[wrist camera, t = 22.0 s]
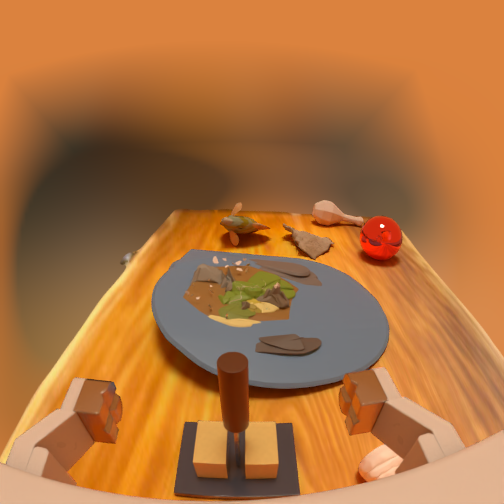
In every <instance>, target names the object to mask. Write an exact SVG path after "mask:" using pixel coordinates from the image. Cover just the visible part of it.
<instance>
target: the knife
mask: <svg viewBox="0 0 504 504" xmlns="http://www.w3.org/2000/svg"><path fill="white" fill-rule="evenodd" d="M217 372H218V382H219V391H220V401H221V410H222V419H223V426H224V428H225V429H226V430H227V431H229V432H232V433H234V443H235V455H236V467H240V436H239V433H240V432H243V431H245V430H246V429H247V428H248V426H249V366H248V359H247V357H246V356H245V355H244V354H242V353H239V352H227V353H224V354H222V355H221V356H220V357H219V358H218V359H217Z"/></svg>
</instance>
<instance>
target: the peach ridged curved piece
mask: <svg viewBox="0 0 504 504" xmlns="http://www.w3.org/2000/svg"><path fill="white" fill-rule="evenodd" d="M402 461H403V459H402V458H401V457H400V456H398V455H397V454H396V453H395V452H394V451H392V450H391V449H390V448H389V447H387V446H386V445H385V444H384V445H382V446H380V447H378V448H376V449H374V450H373V451H371V452H370V453H369V454H368V455H366V456H365V457H364V458H363V460H362V461H361V462H360V464H359V468H358V471H359V473H360V475H361V476H362V477H363V478H364V480H366V481H368V482H370V481H374V480H377V479H381V478H385V477H388V476H391V475H395V471H396V469H397V468H398V466H399V465H400V463H401V462H402Z"/></svg>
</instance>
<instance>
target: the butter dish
mask: <svg viewBox="0 0 504 504" xmlns="http://www.w3.org/2000/svg"><path fill="white" fill-rule="evenodd" d="M239 436H240V467H236V455H235V443H234V433H232V432H229V431H227V430H226V429H225V428H224V426H223V422H220V421H198V423H197V422H185V424H184V430H183V436H182V442H181V448H180V455H179V461H178V468H177V474H176V481H175V487H174V494H175V495H177V496H187V497H198V498H213V499H246V500H251V499H272V498H282V497H291V496H298V495H300V489H299V480H298V471H297V461H296V453H295V444H294V435H293V426H292V423H276V422H275V421H273V422H249V426H248V428H247V429H246V430H245V431H243V432H240V433H239Z"/></svg>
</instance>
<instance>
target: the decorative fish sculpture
mask: <svg viewBox="0 0 504 504" xmlns="http://www.w3.org/2000/svg"><path fill="white" fill-rule="evenodd" d="M241 208H242V203H237V204H236V205H235V207H234V208H233V210H232V213H231V216H228V217H225V218H223V219H222V221H221V222H220V224H221V225H222V226H224V227H225V228H226V229H227V230H228V231H229V233H230V240H231V243H232V244H233V245H234V246H236V245H238V243H239V238H238V236H237V235H236V234H235V233H241V234H244V233H250V232H253V231H258V230H264V229H271V228H269V227H267V226H265V225H262V224H259V223H257V222H256V221H254V220H253V219H251V218H248V217H243V216H234V215H235V214H236V213H237V212H238V211H239V210H240V209H241Z"/></svg>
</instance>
